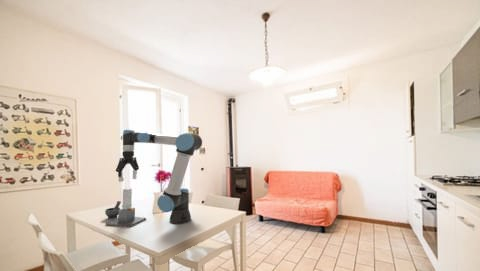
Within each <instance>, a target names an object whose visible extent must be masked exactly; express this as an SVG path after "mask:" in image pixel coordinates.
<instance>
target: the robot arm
mask: <svg viewBox="0 0 480 271" xmlns="http://www.w3.org/2000/svg"><path fill="white" fill-rule="evenodd" d="M135 143H139V144H140V143H141V144H142V143H143V144H158V145H167V146H175V147H176V150H175V152H176V153H177V154H176V158H175V161H174V164H173V168H172V171H171V174H170V177H169V181H168V184H167V187H165V188H164V190H163V192H162V194H161V195H160V196H159V197H158V198H157V202H156V204H157V207H158V209H159V210H160V211H161V212H162V213H170V212H171V213H170V216H169V222H170V223H171V224H176V223H178V224H184V222H185V223H188V222H190V221H191V220H192V215H191V212H190V208H189V206H190V204H189V202H190V200H189V198H190V196H189V195H190V193H189V192H190V191H189V189H188V188H185V187H182V185H183V182H184V178H185V175H186V172H187V169H188V165H189V162H190V159H191V157H193V156H194V153H195V151H198V150H199V149H200V148H201V147H202V146H203V139H202V138H201V136H200V135H198V134H196V133H195V134H194V133H188V132H183V133H181V134H179V135H172V134H161V133H151V132H150V133H149V132H147V131H141V132H140V131H138V132H137V131H136V132H135V130H134V129H124V130H123V131H122V155H121V156H122V157H120V158H119V160H118V163H117V165H116V166H117V167H116V169H115V172H116V173H117V175H118V176H117V177H118V182H119V183H121V182H123V181H124V179H123V178H124V173H123V172H124V169H125V168H126V165H128V164H129V165H130V166H131V168H132V180H137V175H138V174H137V173H138V170H140V166H139V164H138V161H137V157H136V156H135Z"/></svg>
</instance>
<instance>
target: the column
mask: <svg viewBox="0 0 480 271" xmlns="http://www.w3.org/2000/svg"><path fill="white" fill-rule="evenodd" d="M132 194H133V189H132V188H127V187H126V188H123V189H122V205H121V209H122V210H129V209H131V208H132V205H133V204H132Z"/></svg>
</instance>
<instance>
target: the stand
mask: <svg viewBox="0 0 480 271" xmlns="http://www.w3.org/2000/svg"><path fill="white" fill-rule="evenodd" d="M135 215H136V208H135V207H131V209H129V210H122V208H120V210H119V212H118V215H117V218H116V219H111V220H110V221H108V222H107V221H106V222H105V226H106V227H107V226H111V227H121V228H132V227H134V226H136V225H138V224H140V223H142V222H145V221H146V220H147V217H141V216H135Z"/></svg>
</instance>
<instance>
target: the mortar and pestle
mask: <svg viewBox="0 0 480 271" xmlns="http://www.w3.org/2000/svg"><path fill="white" fill-rule="evenodd" d="M121 203H122V202H121V201H120V200H118V201H116V204H115V205H114V207H109V208H107V209H105V210H104V212H105V215H106V216H107V220H110V221H112V220H115V219H118V212H119V210H120V209H121V208H120V205H121Z"/></svg>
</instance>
